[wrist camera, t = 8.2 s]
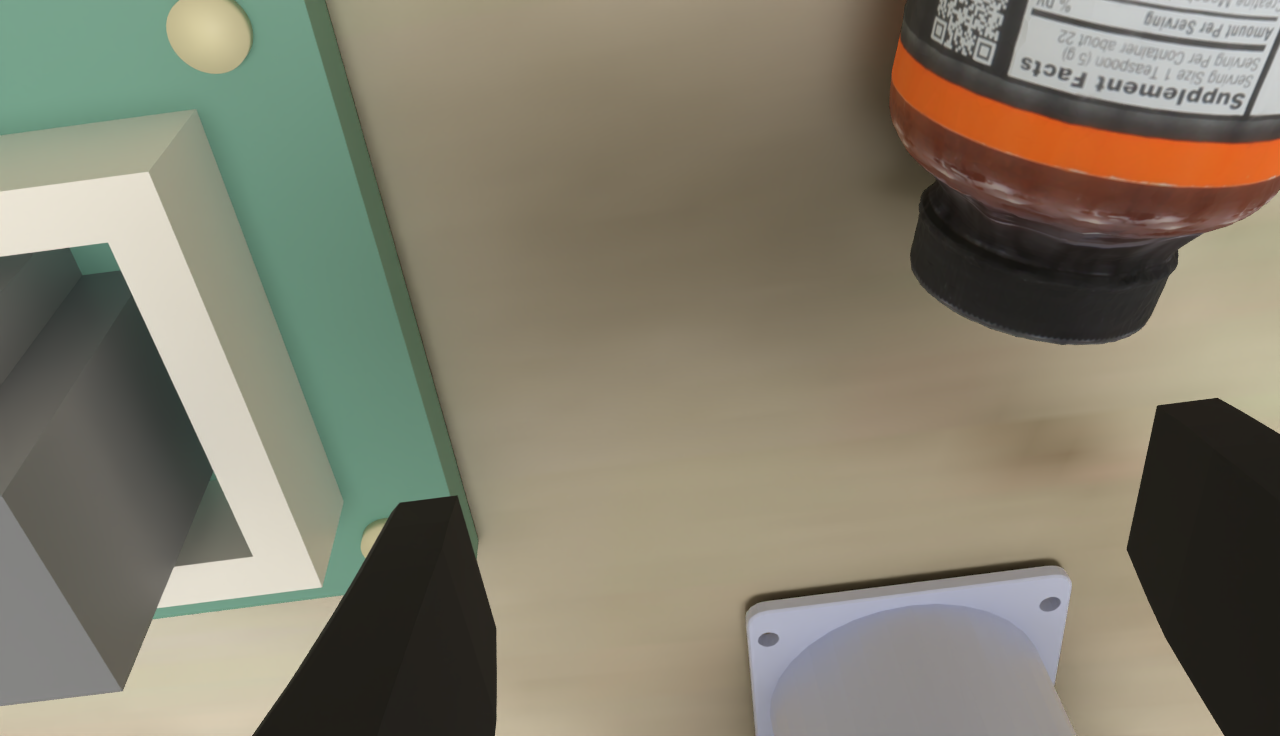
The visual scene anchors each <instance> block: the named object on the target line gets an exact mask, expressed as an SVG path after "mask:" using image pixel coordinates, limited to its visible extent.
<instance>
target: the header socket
mask: <svg viewBox="0 0 1280 736" xmlns="http://www.w3.org/2000/svg"><path fill="white" fill-rule="evenodd" d="M107 242H108V244H109V246H110V248H111V250H112V252H113V254H114V257H115V259H116V261H117V263H118V265H119V267H120V270H121V272H122V274H123V276H124V278H125V280H126V282H127V285H128V287H129V289H130V291H131V293H132V295H133V298H134V300H135V302H136V304H137V306H138V308H139V311H140V313H141V315H142V317H143V319H144V321H145V324H146V326H147V328H148V330H149V332H150V334H151V337H152V339H153V341H154V343H155V345H156V347H157V350H158V352H159V354H160V356H161V358H162V360H163V363H164V365H165V367H166V369H167V371H168V373H169V376H170V378H171V380H172V382H173V384H174V386H175V389H176V391H177V393H178V395H179V397H180V399H181V402H182V404H183V406H184V408H185V410H186V412H187V415H188V417H189V419H190V421H191V423H192V425H193V428H194V430H195V432H196V434H197V436H198V438H199V441H200V443H201V445H202V447H203V449H204V451H205V454H206V456H207V458H208V460H209V462H210V464H211V466H212V469H213V471H214V473H215V475H216V477H217V479H218V480H212V481H209V483H208V486H207V488H206V490H205V493H204V495H203V498H202V500H201V503H200V505H199V507H198V510H197V512H196V515H195V517H194V519H193V522H192V524H191V527H190V529H189V532H188V534H187V536H186V539H185V541H184V544H183V546H182V549H181V551H180V553H179V556H178V558H177V561H176V563H175V565H174V568H173V570H172V573H171V575H170V578H169V580H168V582H167V585H166V587H165V590H164V592H163V595H162V597H161V599H160V602H159V604H158V607H157V608H163V607H171V606H179V605H187V604H195V603H203V602H210V601H218V600H226V599H234V598H242V597H250V596H258V595H266V594H273V593H281V592H289V591H297V590H305V589H313V588H321V587H323V583H324V579H325V575H326V571H327V567H328V563H329V559H330V555H331V551H332V547H333V543H334V539H335V535H336V531H337V527H338V523H339V519H340V515H341V511H342V506H343V502H344V501H343V498H342V496H341V493H340V490H339V488H338V485H337V482H336V480H335V477H334V474H333V472H332V469H331V466H330V464H329V461H328V458H327V456H326V453H325V451H324V448H323V445H322V443H321V440H320V437H319V435H318V432H317V429H316V427H315V424H314V421H313V419H312V416H311V413H310V411H309V408H308V405H307V403H306V400H305V397H304V395H303V392H302V389H301V387H300V384H299V381H298V379H297V376H296V373H295V371H294V368H293V365H292V363H291V360H290V357H289V355H288V352H287V349H286V347H285V344H284V341H283V339H282V336H281V333H280V331H279V328H278V325H277V323H276V320H275V317H274V315H273V312H272V310H271V307H270V304H269V302H268V299H267V296H266V294H265V291H264V288H263V286H262V283H261V280H260V278H259V275H258V272H257V270H256V267H255V264H254V262H253V259H252V256H251V254H250V251H249V248H248V246H247V243H246V240H245V238H244V235H243V232H242V230H241V227H240V224H239V222H238V219H237V216H236V214H235V211H234V208H233V206H232V203H231V200H230V198H229V195H228V192H227V190H226V187H225V184H224V182H223V179H222V176H221V174H220V171H219V168H218V166H217V163H216V161H215V158H214V155H213V153H212V150H211V147H210V145H209V142H208V139H207V137H206V134H205V131H204V129H203V126H202V123H201V121H200V118H199V115H198V113H197V110H196V109H193V110H185V111H178V112H170V113H163V114H155V115H148V116H141V117H133V118H126V119H118V120H111V121H104V122H96V123H89V124H81V125H74V126H67V127H59V128H52V129H44V130H37V131H29V132H22V133H15V134H7V135H0V257H2V256H10V255H17V254H25V253H32V252H40V251H47V250H55V249H62V248H70V247H77V246H85V245H92V244H100V243H107Z"/></svg>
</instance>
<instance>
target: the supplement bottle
mask: <svg viewBox="0 0 1280 736" xmlns="http://www.w3.org/2000/svg"><path fill="white" fill-rule="evenodd" d="M889 108H890V114H891V119H892V122H893V126H894V127H895V129H896V131H897V134H898V136H899V138H900V139H901V141H902V143H903V145H904V146H905V148H906V150H907V151H908V153H909V154H910V155H911V156H912V157H913V158H914V159H915V160H916V161H917V162H918V163H919V164H920V165H921V166H922V167H923V168H924V169H925V170H926V171H928V172H929V173H931V174H932V175H933V176H934V177H935V178H936V181H935V183H934V184H932V185H931V186H930V187H928V188H927V189H926V190H924V192H923V193H922V196H921V199H920V203H919V212H920V213H919V218H918V223H917V227H916V231H915V236H914V240H913V244H912V247H911V253H910V259H911V268H912V271H913V273H914V275H915V277H916V278H917V280H918V281H919V283H920V285H921V286H922V287H923V288H925V289H926V291H927V292H928V293H929V294H931V295H932V296H933V297H935V298H936V299H937V300H938V301H939V302H941V303H942V304H944V305H945V306H947V307H948V308H949V309H951V310H952V311H954V312H956V313H957V314H959V315H961V316H963V317H965V318H967V319H969V320H971V321H974V322H977V323H979V324H982V325H984V326H986V327H988V328H990V329H993V330H996V331H1000V332H1003V333H1006V334H1010V335H1013V336H1015V337H1023V338H1026V339H1030V340H1035V341H1042V342H1048V343H1054V344H1060V345H1066V344H1072V345H1088V344H1104V343H1108V342H1115V341H1118V340H1120V339H1123V338H1126V337H1129V336H1131V335H1132V334H1134V333H1136V332H1137V331H1139V330H1140V329H1141V328H1142V327H1143V326H1144V325H1145V324H1146V322H1147V321H1148V319H1149V318H1150V316H1151V315H1152V312H1153V310H1154V308H1155V306H1156V304H1157V301H1158V299H1159V297H1160V295H1161V293H1162V291H1163V289H1164V286H1165V284H1166V281H1167V279H1168V277H1169V275H1170V274H1171V273H1172V272H1173V271H1174V270H1175V269H1176V267H1177V264H1178V256H1179V255H1178V249H1179V248H1181V247H1182V246H1184V245H1185V244H1187V243H1188V242H1190V241H1192V240H1193V239H1195V238H1196V237H1198V236H1200V235H1201V234H1203V233H1206V232H1209V231H1212V230H1216V229H1219V228H1223V227H1226V226H1229V225H1231V224H1233V223H1235V222H1237V221H1240V220H1242V219H1244V218H1246V217H1248V216H1250V215H1251V214H1253V213H1254V212H1256V211H1257V210H1259V209H1260V208H1261V207H1262V206H1263V205H1265V204H1266V203H1268V202H1269V201H1270V200H1271V199H1272V198H1273V197H1274V196H1275V195H1276V194H1277V193H1278V191H1279V190H1280V0H907V3H906V5H905V9H904V17H903V23H902V28H901V32H900V37H899V41H898V46H897V50H896V55H895V59H894V64H893V68H892V75H891V86H890V99H889Z"/></svg>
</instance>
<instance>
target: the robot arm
mask: <svg viewBox="0 0 1280 736" xmlns="http://www.w3.org/2000/svg"><path fill="white" fill-rule="evenodd" d="M1127 551H1128V554H1129V556H1130V558H1131V561H1132V563H1133V566H1134V568H1135V570H1136V573H1137V575H1138V578H1139V580H1140V582H1141V585H1142V587H1143V589H1144V592H1145V594H1146V597H1147V599H1148V601H1149V603H1150V605H1151V608H1152V610H1153V612H1154V614H1155V616H1156V618H1157V621H1158V623H1159V625H1160V627H1161V629H1162V631H1163V634H1164V636H1165V638H1166V639H1167V641H1168V643H1169V645H1170V646H1171V648H1172V650H1173V651H1174V653H1175V655H1176V657H1177V658H1178V660H1179V662H1180V663H1181V665H1182V667H1183V668H1184V670H1185V672H1186V673H1187V675H1188V677H1189V678H1190V680H1191V682H1192V683H1193V685H1194V687H1195V688H1196V690H1197V692H1198V693H1199V695H1200V697H1201V698H1202V700H1203V702H1204V703H1205V705H1206V707H1207V708H1208V710H1209V711H1210V713H1211V715H1212V716H1213V718H1214V720H1215V721H1216V723H1217V724H1218V726H1219V728H1220V729H1221V731H1222V733H1223V734H1224V736H1280V434H1279V433H1277V432H1275V431H1274V430H1272V429H1270V428H1269V427H1267V426H1265V425H1264V424H1262V423H1260V422H1259V421H1257V420H1255V419H1254V418H1252V417H1250V416H1249V415H1247V414H1245V413H1243V412H1242V411H1240V410H1238V409H1236V408H1235V407H1233V406H1231V405H1229V404H1227V403H1226V402H1224V401H1222V400H1220V399H1218V398H1213V399H1205V400H1197V401H1189V402H1182V403H1174V404H1166V405H1158V406H1157V409H1156V413H1155V418H1154V423H1153V428H1152V432H1151V437H1150V442H1149V446H1148V451H1147V456H1146V460H1145V465H1144V470H1143V474H1142V479H1141V484H1140V489H1139V493H1138V498H1137V503H1136V507H1135V512H1134V517H1133V521H1132V526H1131V531H1130V536H1129V540H1128V545H1127ZM1071 589H1072V582H1071V580H1070V578H1069V576H1068V574H1067V572H1066V571H1065V570H1064V569H1063V568H1061V567H1059V566H1042V567H1034V568H1026V569H1018V570H1010V571H1002V572H994V573H986V574H978V575H970V576H962V577H954V578H946V579H938V580H930V581H922V582H914V583H906V584H898V585H891V586H883V587H875V588H867V589H859V590H851V591H843V592H835V593H827V594H819V595H811V596H803V597H795V598H787V599H779V600H771V601H764V602H760V603H757V604H755V605H754V606H752V607H750V609H749V610H748V611H747V612H746V617H745V620H746V631H747V643H748V655H749V667H750V678H751V690H752V702H753V714H754V725H755V736H1077V735H1076V733H1075V731H1074V728H1073V726H1072V724H1071V722H1070V720H1069V718H1068V716H1067V713H1066V711H1065V709H1064V707H1063V705H1062V703H1061V700H1060V698H1059V696H1058V694H1057V692H1056V690H1055V688H1054V686H1055V680H1056V674H1057V669H1058V663H1059V657H1060V652H1061V646H1062V640H1063V634H1064V629H1065V623H1066V617H1067V612H1068V606H1069V600H1070V595H1071ZM1046 598H1047V599H1046ZM768 632H770V633H769V634H765V633H768ZM496 705H497V658H496V626H495V622H494V619H493V616H492V612H491V609H490V605H489V602H488V598H487V595H486V591H485V588H484V585H483V581H482V578H481V574H480V571H479V567H478V564H477V560H476V557H475V553H474V550H473V547H472V543H471V540H470V536H469V533H468V529H467V526H466V522H465V519H464V516H463V512H462V509H461V505H460V502H459V498H458V495H455V496H448V497H440V498H432V499H424V500H416V501H409V502H401V503H399V504H398V505H397V506H396V507H395V509H394V510H393V511H392V512H391V514H390V516H389V517H388V519H387V521H386V523H385V525H384V526H383V528H382V530H381V532H380V534H379V535H378V537H377V539H376V541H375V543H374V544H373V546H372V548H371V550H370V552H369V553H368V555H367V557H366V559H365V560H364V562H363V564H362V566H361V567H360V569H359V571H358V573H357V574H356V576H355V578H354V579H353V581H352V583H351V585H350V586H349V588H348V590H347V591H346V593H345V595H344V596H343V598H342V600H341V601H340V603H339V605H338V606H337V608H336V610H335V611H334V613H333V615H332V616H331V618H330V619H329V621H328V623H327V624H326V626H325V627H324V629H323V631H322V632H321V634H320V635H319V637H318V639H317V640H316V642H315V643H314V645H313V646H312V648H311V650H310V651H309V653H308V654H307V656H306V658H305V659H304V661H303V662H302V664H301V665H300V667H299V669H298V670H297V672H296V673H295V675H294V676H293V678H292V679H291V681H290V682H289V684H288V685H287V687H286V688H285V690H284V691H283V693H282V694H281V695H280V697H279V698H278V700H277V701H276V702H275V704H274V705H273V707H272V708H271V710H270V711H269V712H268V714H267V715H266V717H265V718H264V720H263V721H262V722H261V724H260V725H259V727H258V728H257V730H256V731H255V732H254V734H253V735H252V736H495V729H496Z"/></svg>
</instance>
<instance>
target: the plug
mask: <svg viewBox="0 0 1280 736" xmlns="http://www.w3.org/2000/svg"><path fill="white" fill-rule="evenodd" d="M212 473H213V469H212V466H211V464H210V462H209V460H208V458H207V456H206V454H205V451H204V449H203V447H202V445H201V443H200V441H199V438H198V436H197V434H196V432H195V430H194V428H193V425H192V423H191V421H190V419H189V417H188V415H187V412H186V410H185V408H184V406H183V404H182V402H181V399H180V397H179V395H178V393H177V391H176V389H175V386H174V384H173V382H172V380H171V378H170V376H169V373H168V371H167V369H166V367H165V365H164V363H163V360H162V358H161V356H160V354H159V352H158V350H157V347H156V345H155V343H154V341H153V339H152V337H151V334H150V332H149V330H148V328H147V326H146V324H145V321H144V319H143V317H142V315H141V313H140V311H139V308H138V306H137V304H136V302H135V300H134V298H133V295H132V293H131V291H130V289H129V287H128V285H127V282H126V280H125V278H124V276H123V274H122V272H121V270H120V271H112V272H104V273H96V274H88V275H82V273H81V271H80V269H79V267H78V265H77V263H76V261H75V259H74V257H73V255H72V253H71V251H70V248H62V249H55V250H47V251H40V252H32V253H25V254H17V255H10V256H2V257H0V706H5V705H13V704H21V703H30V702H38V701H46V700H54V699H63V698H71V697H79V696H87V695H96V694H104V693H112V692H120V691H123V689H124V687H125V684H126V682H127V679H128V677H129V674H130V672H131V670H132V667H133V665H134V662H135V660H136V657H137V655H138V653H139V650H140V648H141V645H142V643H143V641H144V638H145V636H146V633H147V631H148V628H149V626H150V624H151V621H152V619H153V616H154V614H155V611H156V609H157V607H158V604H159V602H160V599H161V597H162V595H163V592H164V590H165V587H166V585H167V582H168V580H169V578H170V575H171V573H172V570H173V568H174V565H175V563H176V561H177V558H178V556H179V553H180V551H181V549H182V546H183V544H184V541H185V539H186V536H187V534H188V532H189V529H190V527H191V524H192V522H193V519H194V517H195V515H196V512H197V510H198V507H199V505H200V503H201V500H202V498H203V495H204V493H205V490H206V488H207V486H208V483H209V481H210V478H211V476H212Z"/></svg>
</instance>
